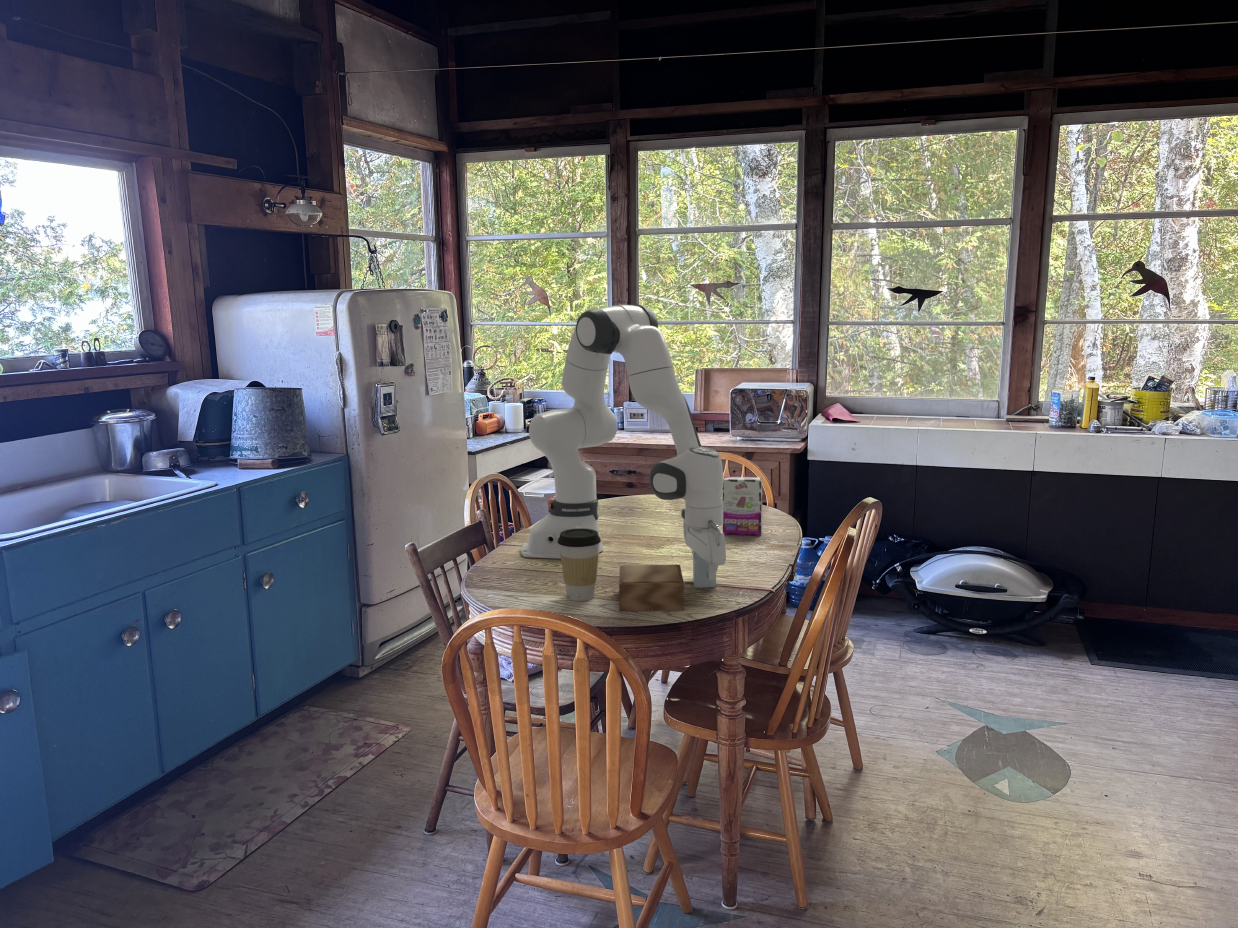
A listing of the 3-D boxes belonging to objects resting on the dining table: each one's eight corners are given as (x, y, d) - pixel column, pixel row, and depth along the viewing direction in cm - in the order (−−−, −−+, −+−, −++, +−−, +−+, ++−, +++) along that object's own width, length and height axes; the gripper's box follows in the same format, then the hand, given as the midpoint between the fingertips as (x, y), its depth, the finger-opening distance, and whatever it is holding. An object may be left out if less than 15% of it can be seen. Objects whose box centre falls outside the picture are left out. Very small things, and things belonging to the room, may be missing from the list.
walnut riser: (619, 610, 187) (619, 583, 186) (620, 590, 201) (619, 564, 199) (684, 609, 187) (683, 582, 185) (680, 589, 200) (680, 563, 199)
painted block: (694, 587, 202) (694, 562, 201) (693, 580, 207) (693, 556, 206) (716, 587, 202) (716, 562, 201) (714, 580, 207) (713, 556, 206)
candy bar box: (762, 532, 250) (763, 476, 247) (761, 536, 246) (761, 480, 243) (724, 530, 253) (724, 475, 250) (722, 534, 248) (722, 479, 245)
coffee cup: (601, 589, 202) (600, 527, 199) (602, 603, 192) (601, 538, 189) (559, 590, 201) (557, 528, 199) (558, 604, 192) (556, 539, 189)
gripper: (732, 525, 192) (733, 585, 194) (703, 506, 212) (703, 560, 214) (706, 527, 190) (706, 587, 193) (678, 508, 210) (679, 563, 212)
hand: (704, 573), depth 204 cm, fingers open, 8 cm apart
